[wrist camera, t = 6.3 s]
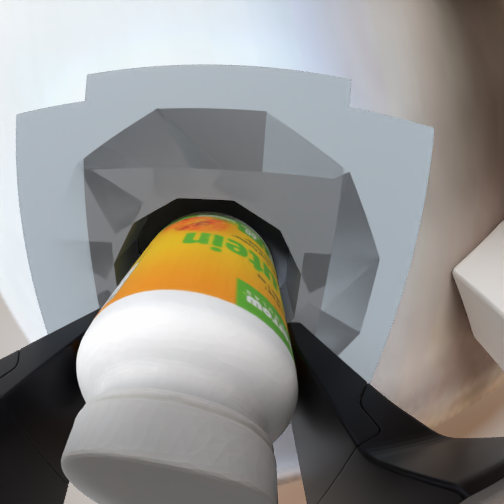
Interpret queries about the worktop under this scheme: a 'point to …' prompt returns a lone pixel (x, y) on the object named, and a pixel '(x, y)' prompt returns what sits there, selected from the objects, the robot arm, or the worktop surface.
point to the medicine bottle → (485, 292)
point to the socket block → (228, 188)
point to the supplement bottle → (186, 374)
